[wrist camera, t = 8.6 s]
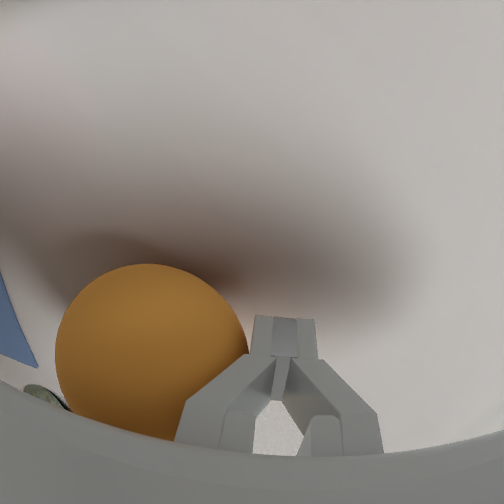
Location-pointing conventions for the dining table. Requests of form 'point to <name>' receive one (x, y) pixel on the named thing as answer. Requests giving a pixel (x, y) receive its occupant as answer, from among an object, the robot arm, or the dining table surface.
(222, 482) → the robot arm
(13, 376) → the dining table surface
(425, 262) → the dining table surface
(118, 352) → the ball
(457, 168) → the dining table surface
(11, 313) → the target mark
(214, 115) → the dining table surface
